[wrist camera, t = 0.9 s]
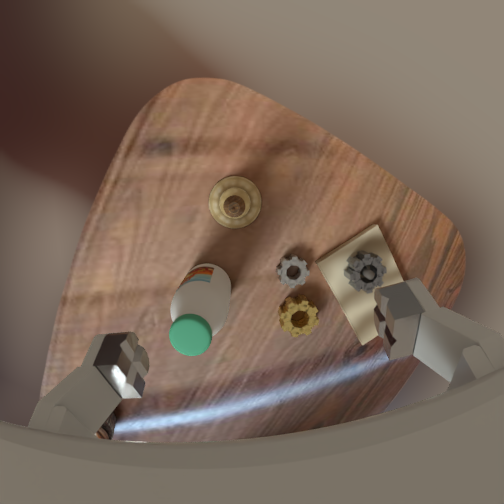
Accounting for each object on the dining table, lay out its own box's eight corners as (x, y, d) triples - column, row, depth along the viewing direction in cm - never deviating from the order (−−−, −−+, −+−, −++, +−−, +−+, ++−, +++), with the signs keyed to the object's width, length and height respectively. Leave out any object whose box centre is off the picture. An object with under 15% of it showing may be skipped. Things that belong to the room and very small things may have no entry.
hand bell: (270, 191, 49) (284, 190, 34) (246, 237, 51) (248, 257, 35) (224, 166, 48) (216, 154, 33) (199, 213, 50) (180, 222, 34)
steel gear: (385, 264, 50) (393, 268, 47) (363, 294, 51) (370, 300, 48) (359, 242, 50) (366, 245, 46) (336, 274, 50) (342, 279, 47)
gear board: (411, 306, 54) (425, 316, 48) (359, 341, 55) (370, 355, 49) (373, 223, 51) (387, 227, 45) (315, 261, 52) (323, 269, 46)
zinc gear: (312, 270, 52) (315, 273, 50) (289, 290, 52) (291, 294, 50) (293, 247, 51) (295, 250, 49) (270, 268, 51) (271, 271, 49)
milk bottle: (234, 265, 51) (230, 309, 32) (228, 310, 53) (222, 373, 33) (186, 259, 51) (155, 299, 31) (183, 304, 52) (153, 363, 32)
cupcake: (128, 422, 57) (115, 453, 47) (101, 434, 57) (87, 462, 48) (98, 391, 55) (80, 419, 45) (73, 405, 56) (54, 431, 46)
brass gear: (321, 316, 53) (325, 324, 50) (289, 335, 54) (292, 343, 51) (303, 287, 52) (307, 293, 49) (271, 307, 53) (272, 314, 50)
